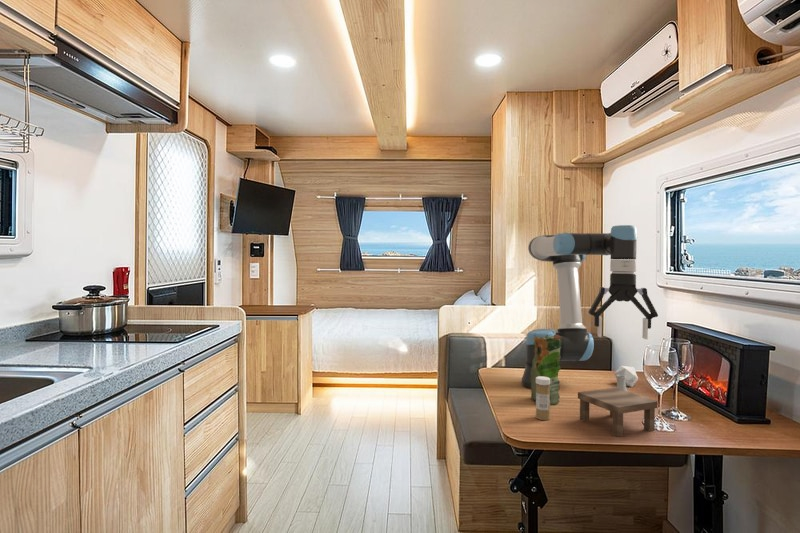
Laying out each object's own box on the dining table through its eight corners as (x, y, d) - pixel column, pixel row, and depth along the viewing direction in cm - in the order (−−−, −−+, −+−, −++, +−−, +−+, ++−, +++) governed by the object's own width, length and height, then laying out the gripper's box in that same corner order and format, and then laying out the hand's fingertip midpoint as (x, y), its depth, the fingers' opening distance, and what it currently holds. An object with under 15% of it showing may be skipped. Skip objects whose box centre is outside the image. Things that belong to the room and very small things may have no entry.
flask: (634, 406, 155) (635, 379, 155) (613, 405, 157) (613, 377, 157) (628, 400, 162) (628, 374, 162) (607, 399, 164) (608, 373, 164)
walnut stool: (577, 419, 142) (577, 392, 142) (614, 413, 148) (614, 387, 148) (618, 437, 127) (618, 407, 127) (657, 430, 133) (657, 401, 133)
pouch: (561, 398, 165) (561, 332, 165) (562, 408, 153) (563, 337, 153) (530, 395, 168) (531, 331, 168) (530, 404, 157) (530, 335, 157)
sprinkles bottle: (551, 417, 144) (551, 377, 144) (547, 421, 140) (548, 380, 140) (537, 414, 146) (537, 375, 146) (533, 418, 142) (533, 378, 142)
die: (626, 390, 178) (641, 372, 177) (607, 376, 184) (622, 358, 183) (630, 393, 184) (645, 375, 183) (612, 379, 190) (626, 362, 189)
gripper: (583, 272, 141) (583, 337, 141) (669, 273, 135) (668, 341, 135) (580, 271, 148) (579, 333, 148) (661, 273, 142) (660, 337, 142)
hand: (622, 337), depth 142 cm, fingers open, 13 cm apart
